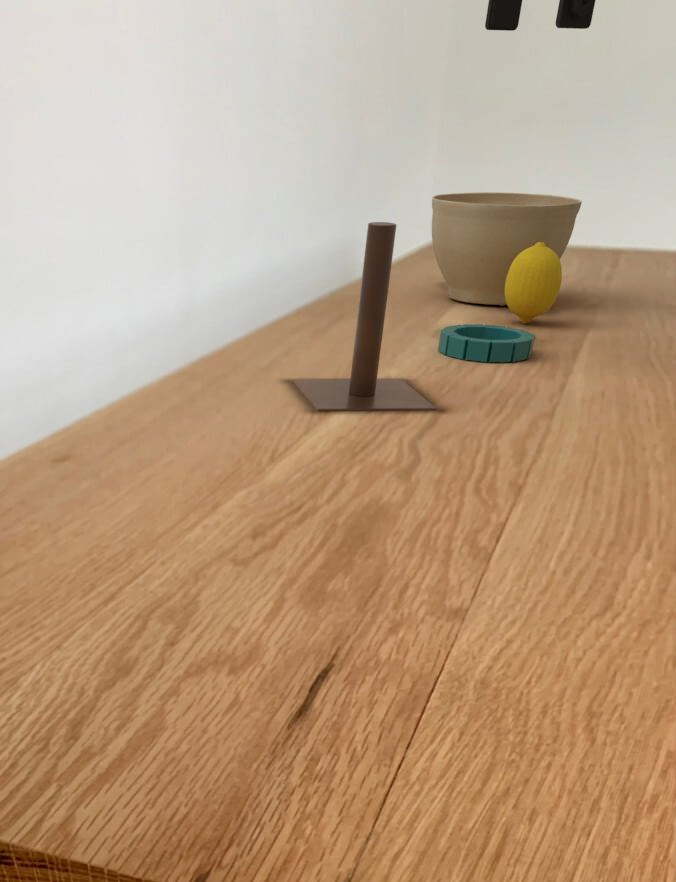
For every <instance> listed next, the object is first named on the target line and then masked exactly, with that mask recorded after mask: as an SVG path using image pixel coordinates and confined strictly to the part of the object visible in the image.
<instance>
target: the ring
mask: <svg viewBox="0 0 676 882" xmlns="http://www.w3.org/2000/svg"><path fill="white" fill-rule="evenodd" d="M535 339H536V335H535V334H533V333H531V332H530V331H528V330H524V329H522V328H521V329H520V328H516V327H512V326H507V327H506V325H505V326H504V325H495V324H482V323H481V324H479V323H478V324H474V323H473V324H472V323H471V324H469V323H467V324H465V323H464V324H455V325H449V326H445V327H444V328H442V329H441V330H440V335H439V341H438V347H437V351H438V352H439V353H441V354H442V353H443V354H442V355H444V356H447V357H449V358H454V357H455V358H454V359H458V360H462V359H463V360H465V361H468V360H473V361H472V362H477V361H481V362H480V363H487V362H488V361H489V362H488V363H490V362H493V364H495V363H494V362H500V363H504V362H510V361H511V362H510V363H516V361H517V362H521V360H522V361H526V360H529V359H530V358H531V356H532V355H533V349H534V344H535ZM528 358H529V359H528ZM525 359H526V360H525ZM500 363H499V364H500ZM504 364H505V363H504Z"/></svg>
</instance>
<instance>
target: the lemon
mask: <svg viewBox="0 0 676 882" xmlns="http://www.w3.org/2000/svg"><path fill="white" fill-rule="evenodd" d="M562 271H563V267H562V263H561V258H560V259H559V257H558V256H557V254H556V253H555V252H554V251H553V250H551V249H550V248H548V247H546V245H545V244H544V243H543V242H537V243H536V244H535V245H534V246H532V247H529V248H527V249H525V250H524V251H522V252H521V253H520V254H519V255H518V256H517V257H516V258H515V259H514V261H513V262H512V264H511V266H510V269H509V271H508V274H507V277H506V282H505V299H506V303H507V305H506V306H507V307H508V309H509V310H510V312H512V313H513V314H514V315H516V316H517V317H518V318H519V320H520V321H521V322H522V323H523V324H529V323H531V322H532V321H533V320H534V319H535V318H537V317H539V316H542V315H543V314H545V313H547V312H548V311H549V310H550V309H551V308H552V306H554V303H555V302H556V301H557V298H558V295H559V293H560V289H561V286H562V280H563V279H562V277H563V272H562Z"/></svg>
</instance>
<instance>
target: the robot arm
mask: <svg viewBox="0 0 676 882" xmlns="http://www.w3.org/2000/svg"><path fill="white" fill-rule="evenodd" d="M487 3H488V4H487V5H488V6H487V11H486V17H485V23H484V27H485V30H486V31H507V32H510V31H512V32H513V31H516V30H517V29H518V27H519V22H520V16H521V12H522V11H521V10H522V5H523V0H488V2H487ZM595 4H596V0H559V1H558V7H557V13H556V17H555V27H556V28H557V29H574V30H575V29H577V30H578V29H580V30H584V29H585V30H586V29H589V28H590V27H591V24H592V20H593V14H594V10H595V6H596V5H595Z"/></svg>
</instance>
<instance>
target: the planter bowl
mask: <svg viewBox="0 0 676 882" xmlns="http://www.w3.org/2000/svg"><path fill="white" fill-rule="evenodd" d="M582 203H583V201H582V200H581V199H579V198H574V197H568V196H563V195H562V196H561V195H553V194H542V193H541V194H540V193H526V192H525V193H524V192H523V193H522V192H496V191H495V192H492V191H491V192H489V191H488V192H486V191H485V192H483V191H482V192H456V193H443V194H441V193H440V194H436V195H433V196H432V198H431V208H432V216H431V241H432V248H433V253H434V256H435V261H436V264H437V266H438V268H439V271H440V273H441V276H442V278H443V279H444V280H445V282H446V284H447V296H448V298H450V299H452V300H454V301H458V302H462V303H463V302H464V303H468V304H469V303H471V304H480V305H482V304H483V305H495V306H497V305H498V306H500V307H504V306H508V305H507V303H506V299H505V282H506V277H507V274H508V271H509V269H510V266H511V264H512V262H513V261H514V259H515V258H516V257H517V256H518V255H519V254H520V253H521V252H522V251H524V250H525V249H527V248H529V247H532V246H534V245H535V244H536V243H537V242H543V243H544V244H545V245H546V247H548V248H550V249H551V250H553V251H554V252H555V253H556V254H557V256H558V257H559V259H560V260H561V258H562V257H563V254H564V253H565V251H566V249H567V248H568V244H569V242H570V240H571V237H572V234H573V232H574V228H575V223H576V219H577V216H578V214H579V213H580V209H581V206H582Z"/></svg>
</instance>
